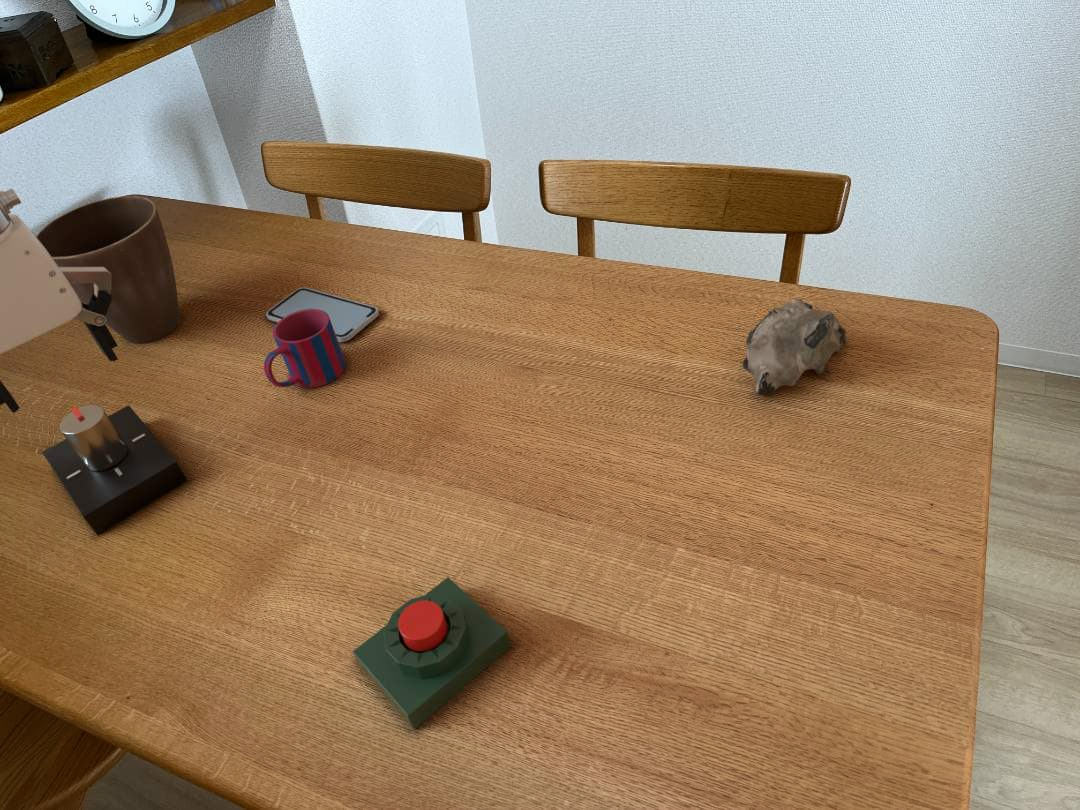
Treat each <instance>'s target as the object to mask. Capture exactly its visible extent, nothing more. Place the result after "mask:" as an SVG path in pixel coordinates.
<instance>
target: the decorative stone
mask: <svg viewBox="0 0 1080 810" xmlns="http://www.w3.org/2000/svg"><path fill="white" fill-rule="evenodd" d="M846 333H847V331H846V329H845V328H844V327H842V325H841V323H840V321H839V320H838V318H837V316H836V315H835V314H834V312H831V311H828V310H822V309H821V310H820V309H814V305H812V304H810V303H807V302H806V301H805V302H804V300H802V299H800V298H794V299H793V300H791V301H790V302H786V303H784V304H783V305H781V306H780V307H775V308H772V309H771V310H770V311H769V312H768V313H767V314H766V315H765V316H764V317H763V319H761V320H760V322H759V323H758V324H757V325H756V326H755V327H754V328H753V329H752V330H750V331H749V333H748V336H747V337H746V340H745V346H746V355H745V359H743V362H742V364H741V366H742V368H743V369H744V370H745V371H747V372H748V373H750V375H752V376H753V378H754V381H755V393H756V394H757V395H759V396H760V397H764V396H768V395H772V394H773V393H775V391H776V390H777V389H778V388H780V387H781V386H788V387H789V386H790V387H794V386H795V385H797V384H798V382H799V380H800V378H801V376H802V375H803V374H804V372H805V371H806V370H813V371H814V373H815V374H817V375H821V374H823V372H824V371H825V367H826V364H827V363H828V362H829V360H830V358H831V357H832V355H833V354H834V353H835V352H839V351H840V350H841V349H842V348H844V345H845V344H846V343H847V341H846V340H847V335H846Z"/></svg>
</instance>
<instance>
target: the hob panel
mask: <svg viewBox="0 0 1080 810" xmlns="http://www.w3.org/2000/svg"><path fill="white" fill-rule="evenodd" d="M107 416H108V417H109V419H110V420H111V422H112V423H113V425H114V426H115V428H116V430H117V431H118V433H119V434H120V436H121V437H122V439H123V440H124V442H125V443H126V445H127V447H128V451H127V454H126V456H125V457H124V458H123V459H122V460H121V461H120V462H119V463H118V464H116V465H114V466H113V467H111V468H108V469H105V470H101V471H93V470H90V469H88V468H87V467H86V465H85V464H84V462H83V461H82V460H81V458H80V457H79V456H78V454H77V453H76V451H75V450H74V449H73V447H72V446H71V444H70V443H69V442H68V440H67V439H66V438H65V439H63V440H61V441H60V442H58V443H55V444H54V445H52V446H50V447H48V448H46V449H45V450H43V451H41V453H42V455H43V456H44V458H45V460H46V461H47V462H48V464H49V466H50V467H51V469H52V470H53V472H54V474H55V475H56V477H57V478H58V480H59V481H60V483H61V485H62V486H63V488H64V489H65V491H66V493H67V494H68V496H69V497H70V499H71V501H73V503H74V505H75V507H76V508H77V510H78V512H79V513H80V515H81V516H82V518H83V519H84V520H85V521H86V523H87V524H88V525H89V527H90V528H91V529H92V530H93V532H94V533H95V534H96V536H99V535H101V534H102V533H104V532H106V531H108V530H109V529H111V528H113V527H114V526H115V525H117V524H119V523H120V522H122V521H124V520H125V519H127V518H129V517H131V516H132V515H134V514H135V513H137V512H139V511H140V510H142V509H144V508H146V507H147V506H149V505H150V504H152V503H154V502H155V501H157V500H159V499H161V498H162V497H163V496H166V495H167V494H169V493H170V492H172V491H173V490H175V489H177V488H178V487H180V486H182V485H184V484H186V483H187V482H188V478H187V477H186V475H185V474H184V472H183V470H182V468H181V467H180V466H179V464H178V462H177V461H176V460H175V458H174V457H173V456H172V455H171V453H170V452H169V450H167V449H166V447H165V446H164V445H163V444H162V443H161V442H160V440H159V439H158V438H157V437H156V436H155V435H154V433H153V432H152V431H151V429H149V428H148V426H147V425H146V424H145V423H144V421H143V420H142V419H141V418H140V416H138V414H137V413H136V412H135V410H133V409H132V407H131V406H130V405H129V404H128V405H126V406H124V407H122V408H120V409H119V410H117V411H115V412H113V413H111V414H109V415H107Z"/></svg>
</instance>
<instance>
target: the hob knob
mask: <svg viewBox="0 0 1080 810" xmlns="http://www.w3.org/2000/svg"><path fill="white" fill-rule="evenodd" d="M70 410H71V412H69V413H68V414H67V415H66V416H65V417H64V418H62V420H61V422H60V424H59V430H60V432H61V434H62V435H63V436H64V438H65V439H67V440H68V442H69V443H70V444H71V446H72V447H73V449H74V450H75V451H76V453H77V454H78V456H79V457H80V458H81V460H82V461H83V462H84V464H85V465H86V467H87V468H88V469H90V470H93V471H101V470H105V469H108V468H111V467H113V466H114V465H116V464H118V463H119V462H120V461H121V460H122V459H123V458H124V457H125V456H126V454H127V451H128V447H127V445H126V443H125V442H124V440H123V439H122V437H121V436H120V434H119V433H118V431H117V430H116V428H115V426H114V425H113V423H112V422H111V420H110V419H109V417H108V416H109V415H108V414H107V413H106V411H105V410H104V408H103V407H102V406H100V405H97V404H89V405H84V406H80V407H79V408H78V407H77V406H74V407H73V408H71V409H70Z"/></svg>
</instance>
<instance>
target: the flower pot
mask: <svg viewBox="0 0 1080 810" xmlns="http://www.w3.org/2000/svg"><path fill="white" fill-rule="evenodd" d="M35 236H36V237H37V239H38V240H39V241H40V242H41V243H42V245H43V246H44V247H45V249H46V250H47V251H48V253H49V254H50V256H51V257H52V258H53V260H54V261H55V263H56V264H57V265H58V267H104V268H106V269H107V270H108V271H109V272H110V273H111V275H112V282H111V296H112V300H111V303H110V306H109V308H108V311H107V314H106V316H105V317H106V323H105V325H106V326H107V327H109V329H111V330H113V332H115V334H116V333H117V334H118V335H119V336H120V337H122V338H123V339H124V340H126V341H127V342H129V343H131V344H145V343H146V344H147V343H150V342H154V341H156V340H159V339H161V338H163V337H165V336H167V335H168V334H170V333H171V332H172V331H174V329H175V328H176V327H177V325H178V324H179V322H180V309H179V298H178V289H177V281H176V276H175V271H174V266H173V260H172V255H171V251H170V248H169V244H168V240H167V236H166V232H165V229H164V227H163V224H162V221H161V217H160V215H159V211H158V209H157V206H156V204H155V202H154V201H153V200H151V199H150V198H147V197H143V196H138V195H123V196H115V197H114V196H113V197H108V198H104V199H99V200H95V201H92V202H90V203H86V204H84V205H81V206H79V207H76V208H74V209H71V210H69V211H67V212H66V213H63V214H61V215H60V216H58V217H56V218H55V219H53V220H52V221H49V223H48V224H46V225H45V226H44V227H43V228H42V229H41V230H40V231H38V233H37V234H36V235H35ZM71 286H72V288H73V289H74V291H75V293H76V294H77V296H78V298H79V300H80V301H82V302H85V303H88V304H89V301H90V299H91V296H92V293H93V291H94V283H75V284H71Z"/></svg>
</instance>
